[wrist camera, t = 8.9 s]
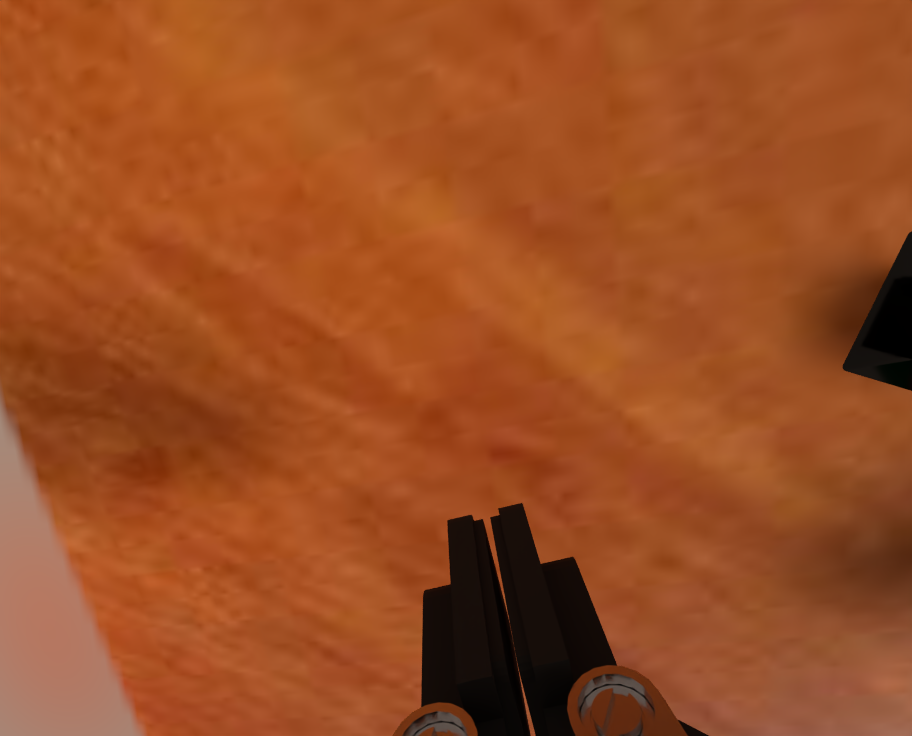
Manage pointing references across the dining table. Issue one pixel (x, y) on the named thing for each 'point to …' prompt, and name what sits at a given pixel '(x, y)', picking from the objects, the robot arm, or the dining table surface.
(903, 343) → the black box
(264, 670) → the dining table surface
